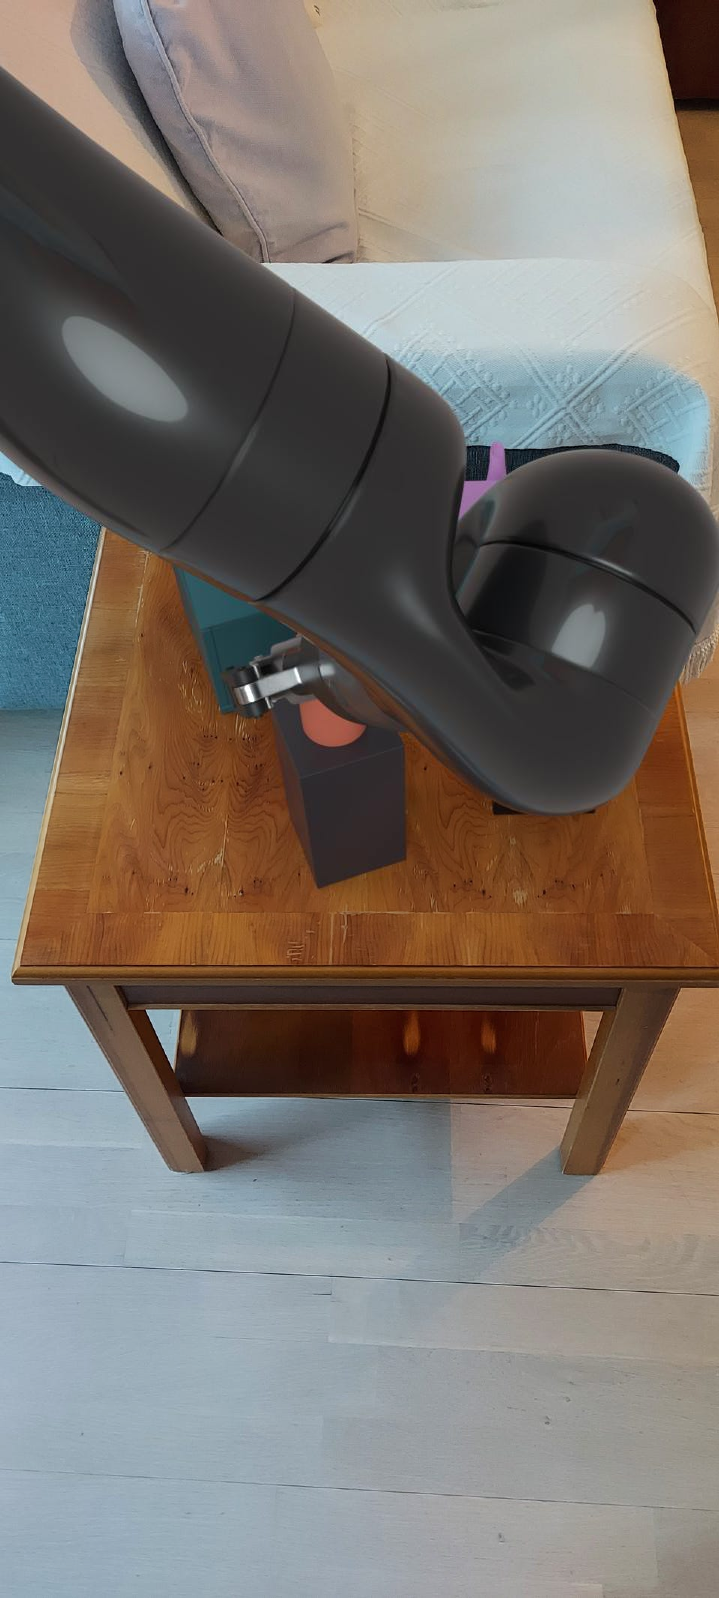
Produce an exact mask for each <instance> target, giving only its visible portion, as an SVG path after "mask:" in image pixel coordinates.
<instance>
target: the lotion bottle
mask: <svg viewBox="0 0 719 1598" xmlns="http://www.w3.org/2000/svg"><path fill="white" fill-rule="evenodd" d="M298 636H301V635H300V634H297V636H296V637H298ZM298 650H300V647H299V649H298ZM299 705H300V712H301V718H302V725H303V729H304V731H305V733H306V735H307V736H308V737H309V738H310V739H311V740H313V741H314V742H316V743H318V744H320V745H324V746H330V747H337V746H343V745H346V744H349V743H351V742H353V741H355V740H356V739H357V738H359V737H360V736H361V734H362V733H363V732H364V730H365V728H366V726H365V725H360V724H356V723H352V722H350V721H347V720H345V719H343V718H341V717H339V716H337V715H336V714H334V713H333V712H331V711H330V710H329V709H328V708H326V707H325V706H324V705H323V704H322V703H321V702H320V701H319V700H318V699H316V700H312V701H308V702H304V703H299Z"/></svg>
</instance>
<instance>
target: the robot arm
mask: <svg viewBox="0 0 719 1598" xmlns="http://www.w3.org/2000/svg"><path fill="white" fill-rule="evenodd" d="M0 453H1V454H2V455H4V457H6V458H7V459H8V460H9V461H11V463H13V464H14V465H15V467H17V468H19V469H20V470H21V471H22V472H24V473H25V474H26V475H28V476H29V477H30V478H31V479H33V480H34V481H35V482H37V484H39V485H40V486H42V487H43V488H44V489H45V490H46V491H48V492H50V493H51V494H53V495H54V496H55V497H57V498H58V499H60V500H61V501H63V502H64V503H65V504H67V505H68V506H70V507H71V508H72V509H74V510H76V512H78V513H80V514H81V515H84V516H85V517H87V518H88V519H90V520H91V521H93V522H95V523H97V524H98V525H100V526H102V527H103V528H105V529H107V530H108V531H110V532H112V533H114V534H115V535H117V536H119V537H121V538H122V539H125V540H126V541H128V542H130V543H132V544H134V545H136V546H137V547H139V548H141V549H143V550H145V551H147V552H148V553H151V554H153V555H154V556H155V557H158V558H159V559H161V560H163V561H165V562H168V563H169V564H171V565H172V564H173V565H175V566H177V567H178V568H180V569H182V570H184V571H186V572H188V573H190V574H192V575H194V576H196V577H197V578H199V579H201V580H203V581H205V582H207V583H209V584H211V585H213V586H215V587H216V588H218V589H220V590H222V591H224V592H226V593H228V594H230V595H232V596H234V597H235V598H237V599H239V600H241V601H245V602H246V603H247V604H249V605H251V606H253V607H255V608H257V609H259V610H260V611H262V612H264V613H266V614H267V615H269V616H271V617H273V618H275V619H276V620H278V621H280V622H281V623H283V624H285V625H286V626H288V627H289V628H291V629H292V630H294V631H295V632H297V633H298V634H300V635H301V636H298V637H294V638H291V639H288V640H286V641H283V642H281V643H278V644H276V645H273V646H272V648H271V654H270V655H267V656H262V655H259V656H256V657H254V659H253V660H251V661H250V662H249V665H250V666H238V667H235V668H234V665H233V666H230V667H227V668H225V669H226V671H224V672H221V673H220V674H221V677H222V680H223V681H224V682H225V685H226V688H227V690H228V693H229V696H230V698H231V701H232V704H233V709H234V711H233V712H234V715H236V716H239V717H242V718H244V719H247V720H250V719H254V720H258V719H261V718H264V714H267V713H268V712H270V709H271V708H273V707H274V705H273V702H276V701H278V699H282V698H286V699H287V700H288V701H289V702H290V703H291V704H299V703H304V702H308V701H312V700H316V699H318V700H319V701H320V702H321V703H322V704H323V705H324V706H325V707H326V708H328V709H329V710H330V711H331V712H333V713H334V714H336V715H337V716H339V717H341V718H343V719H345V720H347V721H350V722H352V723H356V724H360V725H365V726H371V727H375V728H380V729H385V730H390V731H396V732H398V733H404V734H411V735H412V736H413V737H415V739H416V740H417V741H418V742H419V743H420V744H421V745H422V746H423V747H424V748H425V749H426V750H428V752H429V753H430V754H431V755H432V756H433V757H434V758H435V759H436V760H438V762H439V763H441V764H442V765H443V766H444V767H445V768H447V769H448V770H449V771H450V772H451V773H452V774H453V775H455V776H456V777H457V778H458V779H460V781H462V782H463V783H464V784H466V785H467V786H468V787H470V788H472V789H473V790H474V791H476V792H478V793H479V794H480V795H482V796H484V797H485V798H487V799H489V800H491V801H492V800H493V801H494V802H496V803H498V804H500V805H503V806H505V807H508V808H510V809H512V810H515V811H519V812H522V813H526V814H525V815H530V816H535V817H543V818H563V817H569V816H575V815H576V816H577V815H583V814H582V813H585V812H588V811H591V810H594V809H596V810H597V809H599V808H601V807H603V806H604V805H606V804H608V803H609V802H612V801H613V800H614V799H616V798H617V797H619V795H620V794H621V793H622V792H623V791H624V790H625V789H626V788H627V787H628V785H629V783H630V782H631V781H632V779H633V777H634V776H635V774H637V771H638V770H639V768H640V765H641V764H642V761H643V759H644V757H645V756H646V754H647V751H648V748H649V747H650V744H651V742H652V740H653V738H654V735H655V733H656V731H657V728H658V727H659V723H660V722H661V719H662V717H663V714H664V712H665V710H666V708H667V706H668V705H669V704H668V703H669V701H670V699H671V697H672V695H673V692H674V691H675V688H676V686H677V684H678V682H679V680H680V677H681V675H682V673H683V670H684V668H685V666H686V664H687V662H688V660H689V657H690V655H691V654H692V651H693V649H694V646H695V644H696V640H697V639H698V637H699V636H700V633H701V631H702V629H703V627H704V625H705V623H706V620H707V617H708V616H709V613H710V611H711V609H712V606H713V605H714V602H715V600H716V596H717V595H718V592H719V523H718V521H717V519H716V517H715V515H714V513H713V511H712V510H711V507H710V506H709V504H708V503H707V501H706V499H705V498H704V497H703V496H702V494H701V493H700V492H699V491H698V490H697V489H696V488H695V487H694V486H693V485H692V484H690V482H688V481H687V480H686V479H685V478H684V477H683V476H682V475H680V474H678V473H677V472H676V471H674V470H673V469H671V468H669V467H667V466H666V465H664V464H662V463H661V462H658V461H656V460H653V459H651V458H648V457H645V456H643V455H642V456H641V455H639V454H638V455H637V454H635V453H634V454H633V453H629V452H626V451H625V452H624V451H620V450H612V449H601V448H587V449H585V448H583V449H573V450H566V451H562V452H557V453H552V454H548V455H546V456H543V457H539V458H537V459H534V460H532V461H529V462H527V463H525V464H523V465H521V466H519V467H517V468H515V469H514V470H512V471H510V472H509V473H508V474H506V476H505V477H503V478H502V479H500V480H499V481H498V482H496V483H495V484H494V485H493V486H492V487H491V488H490V489H488V490H487V491H486V492H485V493H484V494H483V495H482V496H481V497H480V498H479V499H478V500H477V501H476V502H475V503H474V504H473V505H472V506H471V507H470V508H469V509H468V511H467V512H466V513H465V514H464V515H463V516H462V517H461V518H460V519H459V520H458V518H459V513H460V507H461V501H462V496H463V490H464V483H465V481H466V475H467V466H468V465H467V464H468V456H467V440H466V436H465V432H464V427H463V426H462V423H461V420H460V418H459V417H458V414H457V413H456V412H455V410H454V409H453V407H452V406H451V405H450V403H448V401H447V400H446V399H445V398H443V396H442V395H440V393H439V392H438V391H436V390H435V389H434V388H433V387H432V386H431V385H429V384H428V383H427V382H425V381H424V380H423V379H422V378H420V377H419V376H418V375H417V374H415V373H413V372H412V371H411V370H410V369H408V368H407V367H406V366H404V365H403V364H401V363H400V362H399V361H397V360H396V359H395V358H393V357H392V356H391V355H389V354H387V353H385V352H383V350H382V349H381V348H379V347H377V346H376V345H375V344H374V343H372V342H370V341H369V340H368V339H367V338H365V337H363V336H362V335H361V334H359V333H358V332H357V331H356V330H354V329H352V328H351V327H350V326H349V325H347V324H346V323H344V322H343V321H341V320H340V319H338V318H337V317H336V316H335V315H333V314H331V313H330V312H329V311H328V310H326V309H325V308H324V307H322V306H320V305H319V304H318V303H317V302H316V301H314V300H312V299H311V298H309V297H308V296H307V295H305V294H304V293H303V292H301V291H300V290H299V289H297V288H295V287H294V286H292V285H290V283H289V282H287V281H286V280H285V279H283V278H282V277H281V276H279V275H278V274H276V273H275V272H273V271H272V270H271V269H269V268H268V267H266V266H265V265H264V264H262V263H260V262H259V261H257V259H255V258H254V257H252V256H251V255H250V254H248V253H247V252H245V251H244V250H242V249H241V248H240V247H238V246H237V245H235V244H234V243H233V242H231V241H230V240H228V239H227V238H226V237H224V236H222V234H220V233H218V232H217V231H216V230H214V229H213V228H212V227H211V226H209V225H208V224H206V223H205V222H203V221H202V220H200V219H199V218H198V217H196V216H195V215H193V214H192V213H191V212H190V211H188V210H187V209H186V208H184V207H182V206H181V205H180V204H179V203H177V202H176V201H175V200H173V199H172V198H170V197H169V196H168V195H167V194H165V193H164V192H163V191H161V190H160V189H159V188H157V187H156V186H154V185H153V184H152V183H151V182H149V181H148V180H146V179H145V178H144V177H143V176H141V175H140V174H139V173H137V172H136V171H135V170H133V169H132V168H131V167H129V166H128V165H126V164H125V163H124V162H123V161H121V160H120V159H119V158H118V157H116V156H115V155H114V154H112V153H111V152H109V151H108V150H107V149H105V148H104V147H103V146H102V145H100V143H97V142H96V140H94V139H92V138H91V137H90V136H88V135H87V134H86V133H84V132H83V131H82V130H81V129H80V128H78V127H77V126H76V125H75V124H73V123H72V122H71V121H70V120H68V119H67V118H66V117H64V116H63V114H61V113H59V111H57V110H56V109H55V108H53V107H52V106H51V105H50V104H49V103H48V102H46V101H45V100H44V99H42V98H41V97H39V96H38V95H37V94H36V93H35V92H34V91H33V90H31V89H30V88H29V87H27V86H26V85H25V84H23V82H22V81H20V80H19V79H17V78H16V77H15V76H14V75H13V74H12V73H10V72H9V71H8V70H6V68H4V67H3V66H2V65H0ZM299 647H300V650H298V649H299ZM274 665H275V666H276V667H277V670H278V672H277V671H276V669H275V666H274ZM585 814H586V813H585Z"/></svg>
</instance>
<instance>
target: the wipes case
mask: <svg viewBox="0 0 719 1598" xmlns="http://www.w3.org/2000/svg"><path fill="white" fill-rule="evenodd" d="M171 566H172V570H173V574H174V578H175V581H176V586H177V589H178V592H179V597H180V600H181V605H182V608H183V610H184V613H185V616H186V618H187V621H188V624H189V627H190V630H191V633H192V635H193V638H194V641H195V644H196V646H197V649H198V650H197V651H198V653H199V655H200V658H201V660H202V663H203V666H204V668H205V672H206V675H207V677H208V680H209V684H210V685H211V688H212V691H213V694H214V697H215V700H216V702H217V705H218V708H219V711H220V714H221V715H225V714H228V713H231V712H234V709H233V704H232V701H231V698H230V696H229V693H228V690H227V688H226V685H225V682H224V681H223V680H222V677H221V674H220V673H221V672H224V671H226V669H225V668H227V667H230V666H233V665H234V668H235V667H238V666H250V665H249V662H250V661H251V660H253V659H254V657H256V656H259V655H262V656H267V655H270V654H271V648H272V646H273V645H276V644H278V643H281V642H283V641H286V640H288V639H291V638H294V637H296V636H297V634H298V633H297V632H295V631H294V630H292V629H291V628H289V627H288V626H286V625H285V624H283V623H281V622H280V621H278V620H276V619H275V618H273V617H271V616H269V615H267V614H266V613H264V612H261V613H257V614H254V615H250V616H246V617H243V618H239V619H236V620H232V621H229V622H225V623H222V624H218V625H215V626H211V627H208V628H204V629H201V628H200V626H199V623H198V620H197V616H196V613H195V609H194V606H193V602H192V599H191V595H190V592H189V588H188V585H187V581H186V578H185V574H184V571H183V570H182V569H180V568H178V567H177V566H175V565H173V564H171ZM274 666H275V665H274ZM275 669H276V671H277V672H278V670H277V667H276V666H275Z"/></svg>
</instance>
